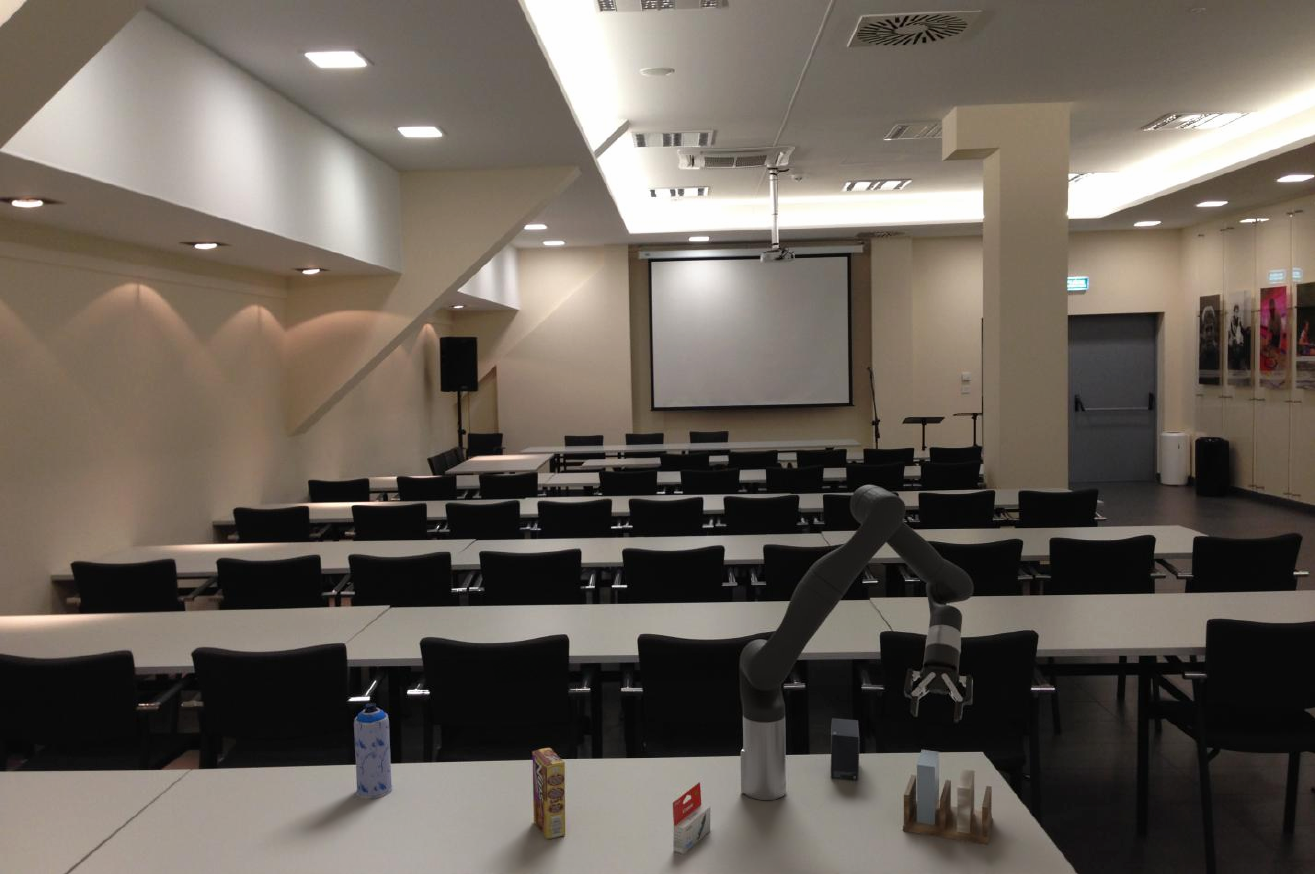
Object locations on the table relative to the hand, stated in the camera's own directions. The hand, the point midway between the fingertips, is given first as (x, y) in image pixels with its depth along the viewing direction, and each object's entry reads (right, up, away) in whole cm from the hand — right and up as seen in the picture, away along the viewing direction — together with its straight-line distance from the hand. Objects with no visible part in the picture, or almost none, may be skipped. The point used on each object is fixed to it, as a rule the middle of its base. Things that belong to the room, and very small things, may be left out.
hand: (935, 718), depth 203 cm
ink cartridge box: (-52, -20, -14) cm, 58 cm away
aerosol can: (-123, -20, +11) cm, 125 cm away
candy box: (-81, -20, -8) cm, 84 cm away
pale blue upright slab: (-4, -18, -8) cm, 20 cm away
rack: (0, -19, -10) cm, 21 cm away
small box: (-16, -17, +17) cm, 29 cm away
